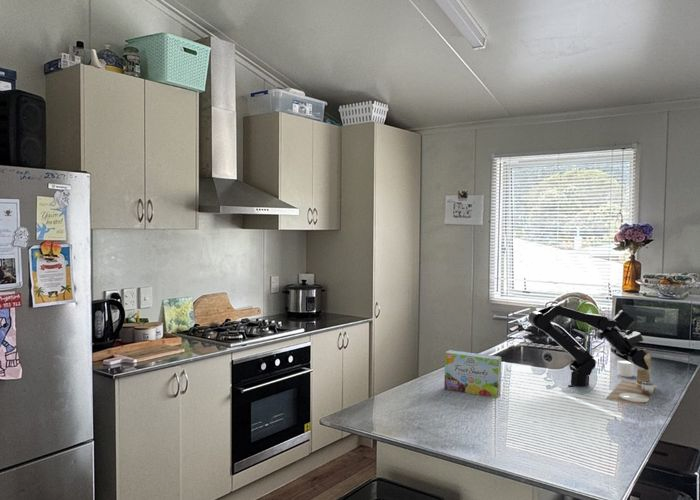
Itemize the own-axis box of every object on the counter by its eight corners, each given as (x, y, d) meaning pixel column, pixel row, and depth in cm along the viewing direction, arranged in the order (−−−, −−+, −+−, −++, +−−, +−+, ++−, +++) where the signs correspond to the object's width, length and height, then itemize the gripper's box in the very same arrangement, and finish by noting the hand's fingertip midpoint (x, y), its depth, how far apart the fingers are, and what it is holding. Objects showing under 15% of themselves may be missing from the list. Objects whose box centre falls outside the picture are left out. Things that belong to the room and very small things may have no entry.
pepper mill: (643, 388, 232) (645, 350, 232) (633, 384, 237) (635, 348, 236) (652, 387, 234) (654, 349, 234) (642, 383, 239) (643, 347, 238)
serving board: (643, 409, 209) (643, 405, 209) (604, 402, 216) (605, 399, 216) (656, 388, 236) (656, 385, 236) (621, 383, 244) (622, 380, 244)
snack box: (443, 389, 228) (444, 351, 227) (448, 386, 233) (449, 349, 232) (497, 398, 218) (498, 358, 218) (500, 394, 223) (502, 355, 223)
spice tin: (647, 395, 222) (648, 384, 222) (638, 392, 226) (639, 381, 226) (655, 394, 224) (656, 383, 224) (646, 391, 228) (646, 380, 228)
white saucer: (635, 403, 211) (635, 402, 211) (613, 396, 220) (613, 394, 220) (654, 401, 215) (654, 399, 215) (632, 393, 224) (632, 392, 224)
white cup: (631, 380, 249) (632, 364, 248) (614, 377, 253) (615, 361, 252) (635, 377, 254) (635, 361, 254) (618, 374, 258) (619, 359, 258)
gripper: (642, 329, 225) (669, 357, 226) (618, 321, 244) (644, 347, 245) (621, 349, 225) (648, 377, 226) (599, 339, 244) (624, 366, 245)
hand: (641, 366), depth 235 cm, fingers open, 9 cm apart
